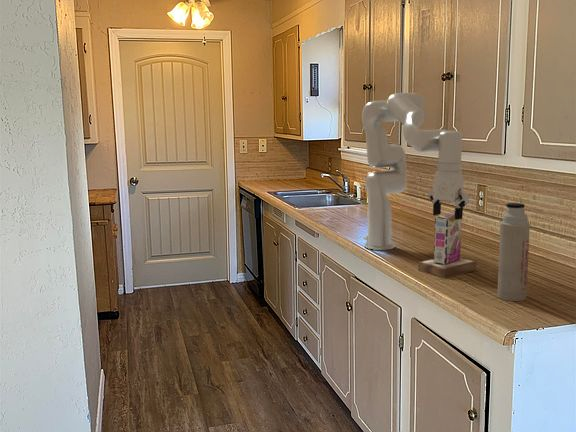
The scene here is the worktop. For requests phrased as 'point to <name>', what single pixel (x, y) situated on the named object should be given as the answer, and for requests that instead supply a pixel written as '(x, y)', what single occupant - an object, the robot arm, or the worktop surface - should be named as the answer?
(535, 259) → the worktop surface
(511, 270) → the thermos bottle
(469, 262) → the base
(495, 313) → the worktop surface
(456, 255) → the candy bar box
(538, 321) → the worktop surface
